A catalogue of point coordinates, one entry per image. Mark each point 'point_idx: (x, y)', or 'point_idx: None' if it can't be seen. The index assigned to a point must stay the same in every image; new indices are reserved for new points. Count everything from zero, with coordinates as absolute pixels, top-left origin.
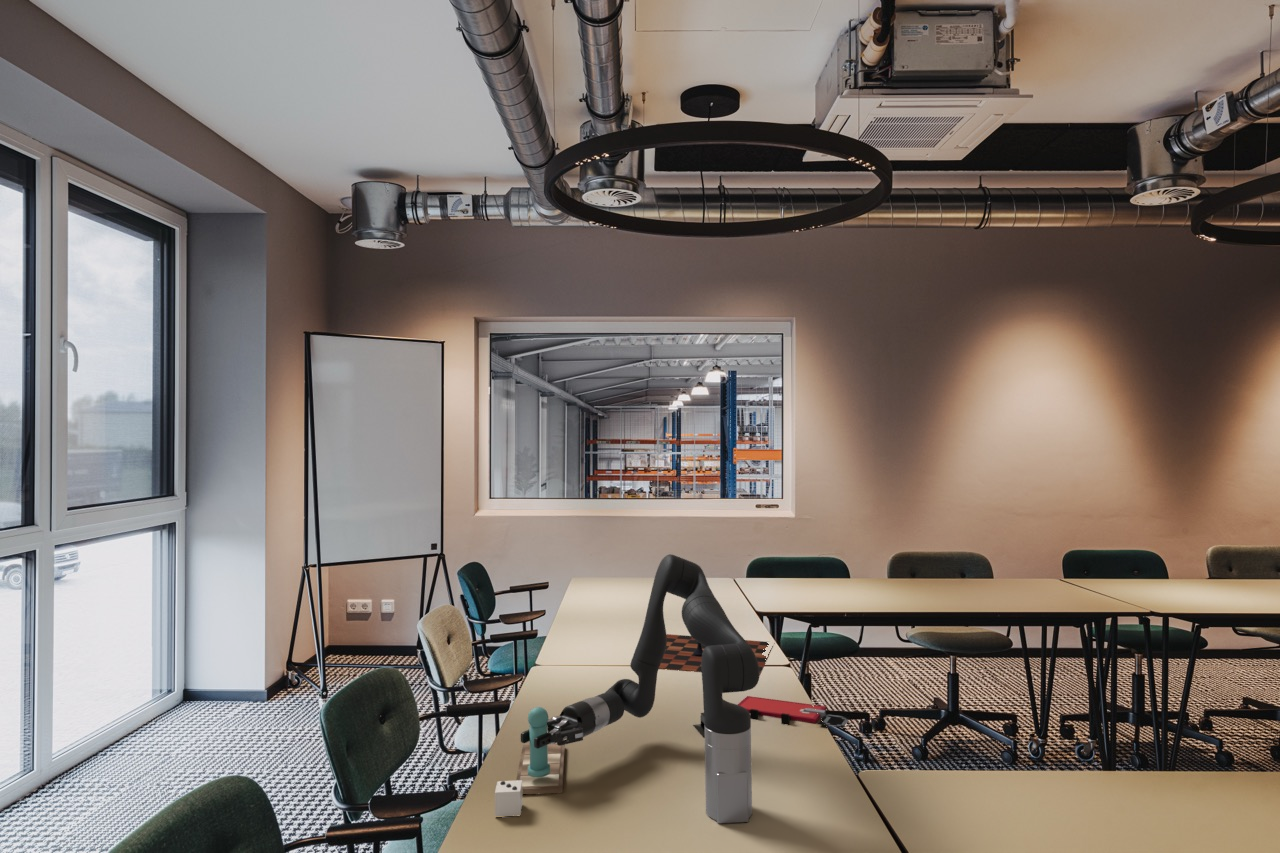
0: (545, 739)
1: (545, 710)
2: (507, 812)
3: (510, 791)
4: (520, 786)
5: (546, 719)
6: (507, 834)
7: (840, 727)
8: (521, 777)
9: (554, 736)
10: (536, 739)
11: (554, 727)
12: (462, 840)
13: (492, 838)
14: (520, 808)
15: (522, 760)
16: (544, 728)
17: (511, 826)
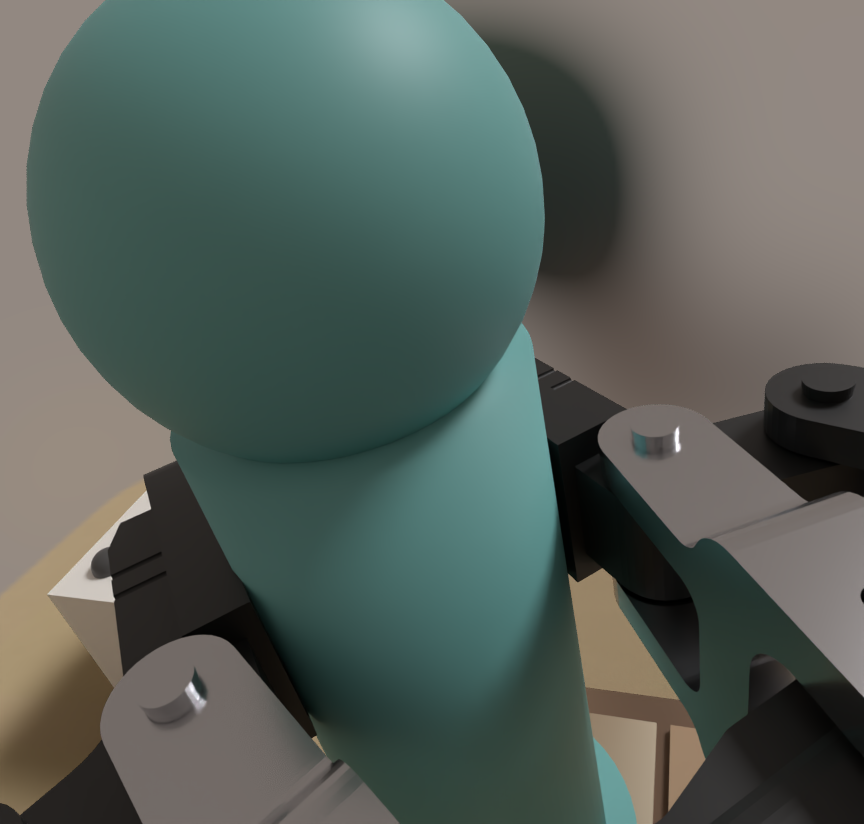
0: (121, 606)
1: (122, 81)
2: None
3: (101, 544)
4: (111, 598)
5: (66, 325)
6: (21, 634)
7: None
8: (616, 727)
9: (82, 775)
10: (145, 475)
11: (327, 761)
12: (136, 486)
13: (51, 576)
14: (110, 677)
15: None
16: (188, 478)
17: (73, 655)
